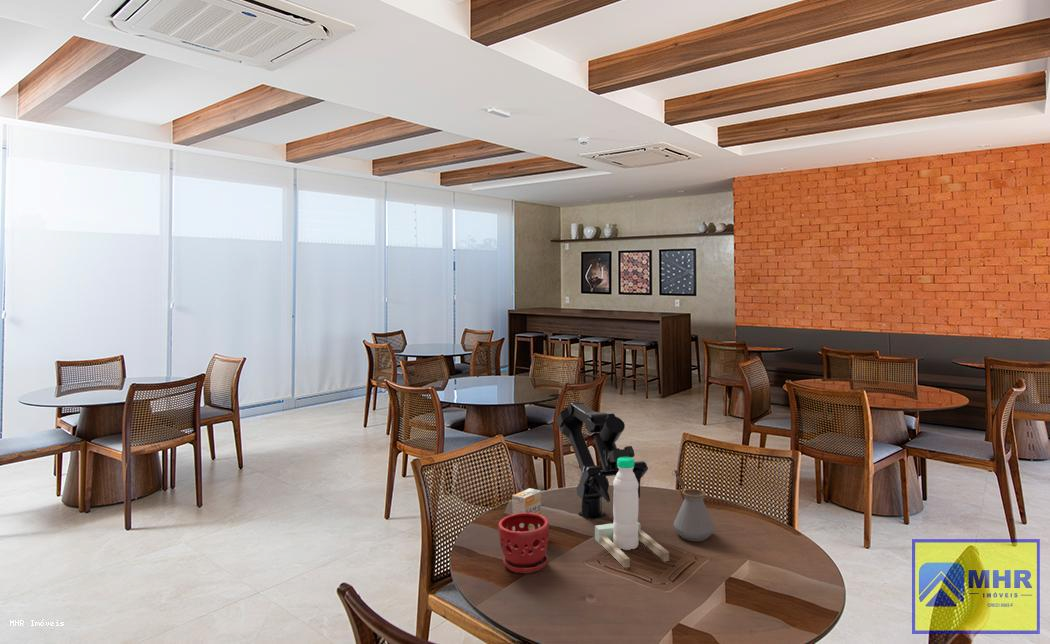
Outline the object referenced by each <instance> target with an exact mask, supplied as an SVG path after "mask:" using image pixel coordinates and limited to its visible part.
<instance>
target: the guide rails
mask: <svg viewBox="0 0 1050 644" xmlns="http://www.w3.org/2000/svg"><path fill="white" fill-rule="evenodd" d="M638 540H639V542H640V543H641V542H642V543H643V544H644V545H645V546H644V545H643V544H642V543H641V544H642V545H643V546H644V547H646V546H647V547H648V548H649V549H650V550H652V551H653V552H654V553H655V554H656V555H657V556H658V557H660V558H661V559H662V560H663V561H669V562H670V552H669V551H668V549H666V548H664V547H663V546H662V545H661V544H660V543H659V542H657V541H656V540H655V539H654V538H653V537H651V536H650V535H648V534H647V533H646V532H645V531H644V530H642V529H638ZM598 544H599V545H600V546H601V545H602V546H603V547H604V548H605V549H606V550H607V551H608V552H609V553H610V554H611V555H612V556H613V557H614V558H615V559H616V560H617V561H618V562H619V563H620V564H621V565H622V566H623V567H630V565H631V563H630V557H628V555H626V553H625V552H624V551H623V550H621V549H619V548H618V547H617V546H616V545H615V544H614V543H613V542H612V541H611V540H610V539H609V538H608V537H606V536H605V535H604V534H602V535H599V543H598ZM602 546H601V547H602ZM603 547H602V548H603ZM647 547H646V548H647ZM604 548H603V549H604ZM648 548H647V549H648ZM605 549H604V550H605ZM649 549H648V550H649ZM606 550H605V551H606ZM650 550H649V551H650ZM607 551H606V552H607ZM608 552H607V553H608ZM653 552H652V553H653ZM609 553H608V554H609ZM654 553H653V554H654ZM610 554H609V555H610ZM655 554H654V555H655ZM611 555H610V556H611ZM656 555H655V556H656ZM612 556H611V557H612ZM657 556H656V557H657ZM613 557H612V558H613ZM658 557H657V558H658ZM614 558H613V559H614ZM615 559H614V560H615ZM661 559H660V560H661ZM616 560H615V561H616ZM662 560H661V561H662ZM617 561H616V562H617ZM663 561H662V562H663ZM618 562H617V563H618ZM619 563H618V564H619ZM620 564H619V565H620ZM621 565H620V566H621ZM622 566H621V567H622ZM623 567H622V568H623ZM630 568H631V567H630Z"/></svg>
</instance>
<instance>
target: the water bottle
mask: <svg viewBox="0 0 1050 644" xmlns="http://www.w3.org/2000/svg"><path fill="white" fill-rule="evenodd" d="M634 462H635V459H634V457H632V458H631V457H619V458H618V459H617V466H618V468H619V471H618V473H617V474H616V475H615V477H614V479H613V482H612V486H613V494H612V495H613V496H612V506H613V507H612V514H613V530H614V534H613V543H614V544H615V545H616V546H617V547H618V548H619V549H620V550H621V549H623V550H622V551H632V550H631V549H633V550H635V549H636V548H638V547H639V542H640V541H639V540H638V522H639V499H638V486H639V484H638V481H637V479H636V477H635V474H634V473H633V468H634Z"/></svg>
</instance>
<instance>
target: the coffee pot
mask: <svg viewBox="0 0 1050 644" xmlns="http://www.w3.org/2000/svg"><path fill="white" fill-rule="evenodd" d="M673 472H674V474H673ZM671 475H672V476H674V475H675V477H676V478H677V481H678V483H679V485H680V487H681V488H682V489H683V490H682V495H684V496H683V497H684V499H683V501H682V504H681V505H680V508H679V510H678V513H677V515H676V517H675V518H674V522H673V528H674V530H675V532H676V533H677V534H678V535H679V536H680V537H681V538H682V539H684V540H687V541H690V542H702V541H705V540H707V539H708V538H710V537H711V536H712V534H713V533H714V531H715V525H714V523H713V520H712V519H711V516H710V514H709V511H708V509H707V506H706V504H705V501H704V497H705V496H706V493H707V492H706V491H704V490H702V489H696V488H688V489H687V488H686V485H685V483H684V480H683V478H681V475H680V472H679V471H678V470H676V469H674V470H672V472H671Z"/></svg>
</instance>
